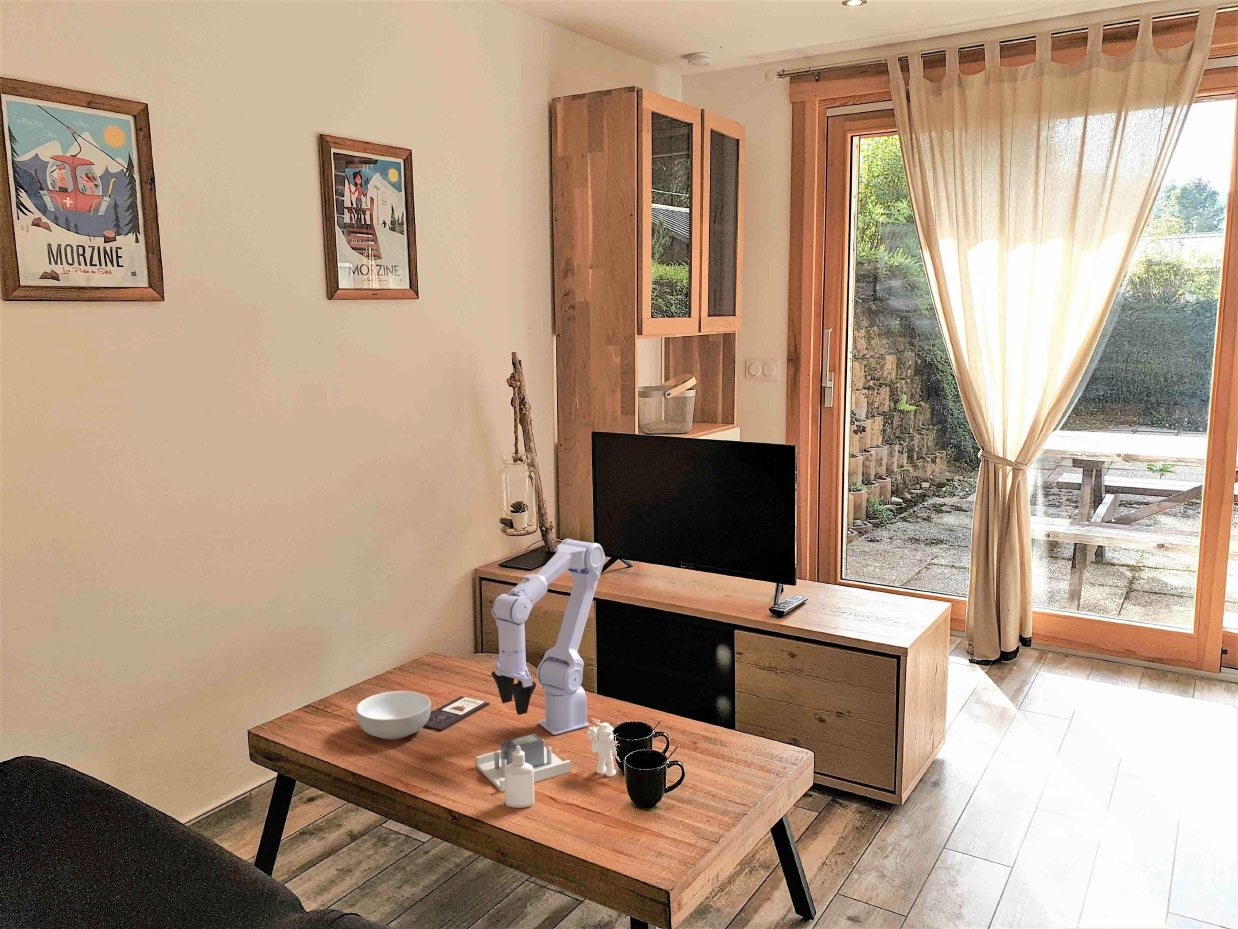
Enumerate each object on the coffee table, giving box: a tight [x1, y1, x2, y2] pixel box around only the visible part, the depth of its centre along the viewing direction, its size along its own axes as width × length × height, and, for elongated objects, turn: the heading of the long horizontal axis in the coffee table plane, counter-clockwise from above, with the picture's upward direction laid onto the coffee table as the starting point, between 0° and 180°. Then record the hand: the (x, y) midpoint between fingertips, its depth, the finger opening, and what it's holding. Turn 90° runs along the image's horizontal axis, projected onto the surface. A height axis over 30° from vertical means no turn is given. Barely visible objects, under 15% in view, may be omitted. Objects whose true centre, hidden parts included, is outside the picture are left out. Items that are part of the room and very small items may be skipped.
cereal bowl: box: [355, 690, 432, 741], centre depth 222 cm, size 17×17×7 cm
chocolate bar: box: [422, 695, 490, 732], centre depth 232 cm, size 9×1×18 cm
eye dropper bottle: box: [504, 746, 535, 809], centre depth 187 cm, size 4×6×12 cm
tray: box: [475, 738, 572, 793], centre depth 203 cm, size 16×13×4 cm
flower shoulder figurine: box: [586, 717, 621, 777], centre depth 200 cm, size 9×4×12 cm, turn 52°
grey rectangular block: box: [500, 732, 545, 768], centre depth 202 cm, size 8×4×6 cm, turn 122°
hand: (514, 707), depth 211 cm, fingers open, 7 cm apart
